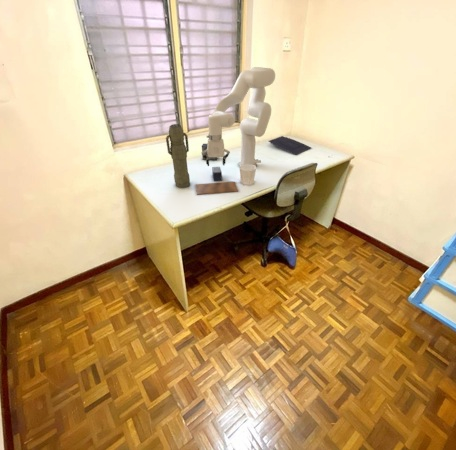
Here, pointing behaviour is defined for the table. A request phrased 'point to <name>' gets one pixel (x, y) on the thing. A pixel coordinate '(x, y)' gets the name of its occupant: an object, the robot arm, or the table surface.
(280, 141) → the black flat slab
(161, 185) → the table surface
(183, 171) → the thermos
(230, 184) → the mat
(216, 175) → the block
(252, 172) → the cup
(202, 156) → the small box
